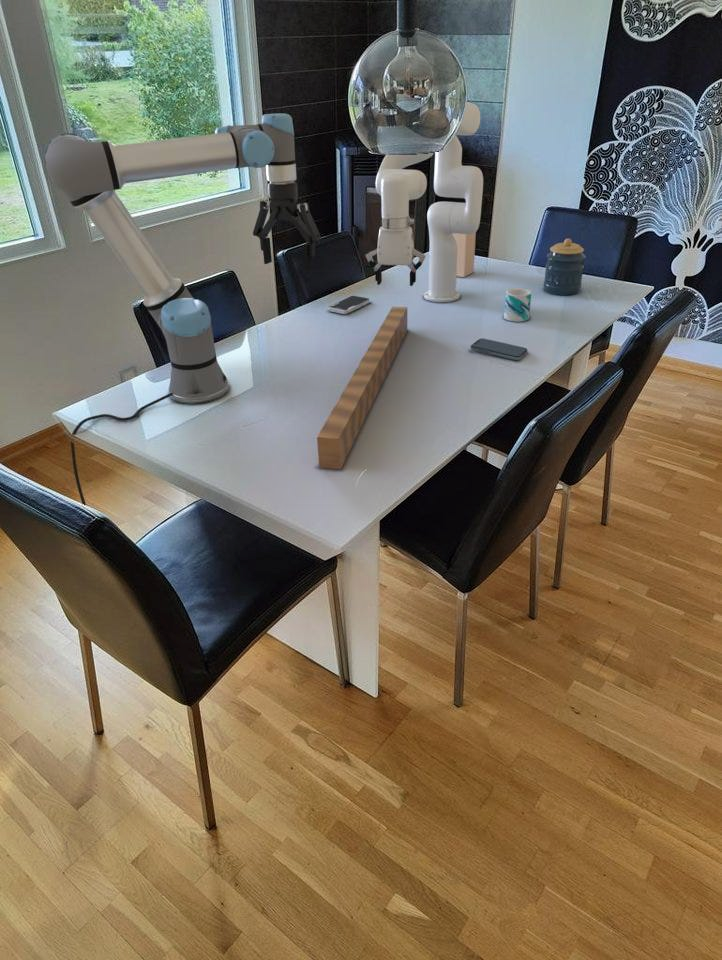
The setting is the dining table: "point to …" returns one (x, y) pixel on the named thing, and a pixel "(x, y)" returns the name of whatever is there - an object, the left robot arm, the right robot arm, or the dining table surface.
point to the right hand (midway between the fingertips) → (395, 284)
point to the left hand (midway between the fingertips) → (288, 265)
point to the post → (360, 392)
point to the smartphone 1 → (348, 304)
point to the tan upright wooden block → (465, 253)
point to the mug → (517, 304)
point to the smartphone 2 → (499, 349)
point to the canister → (564, 268)
